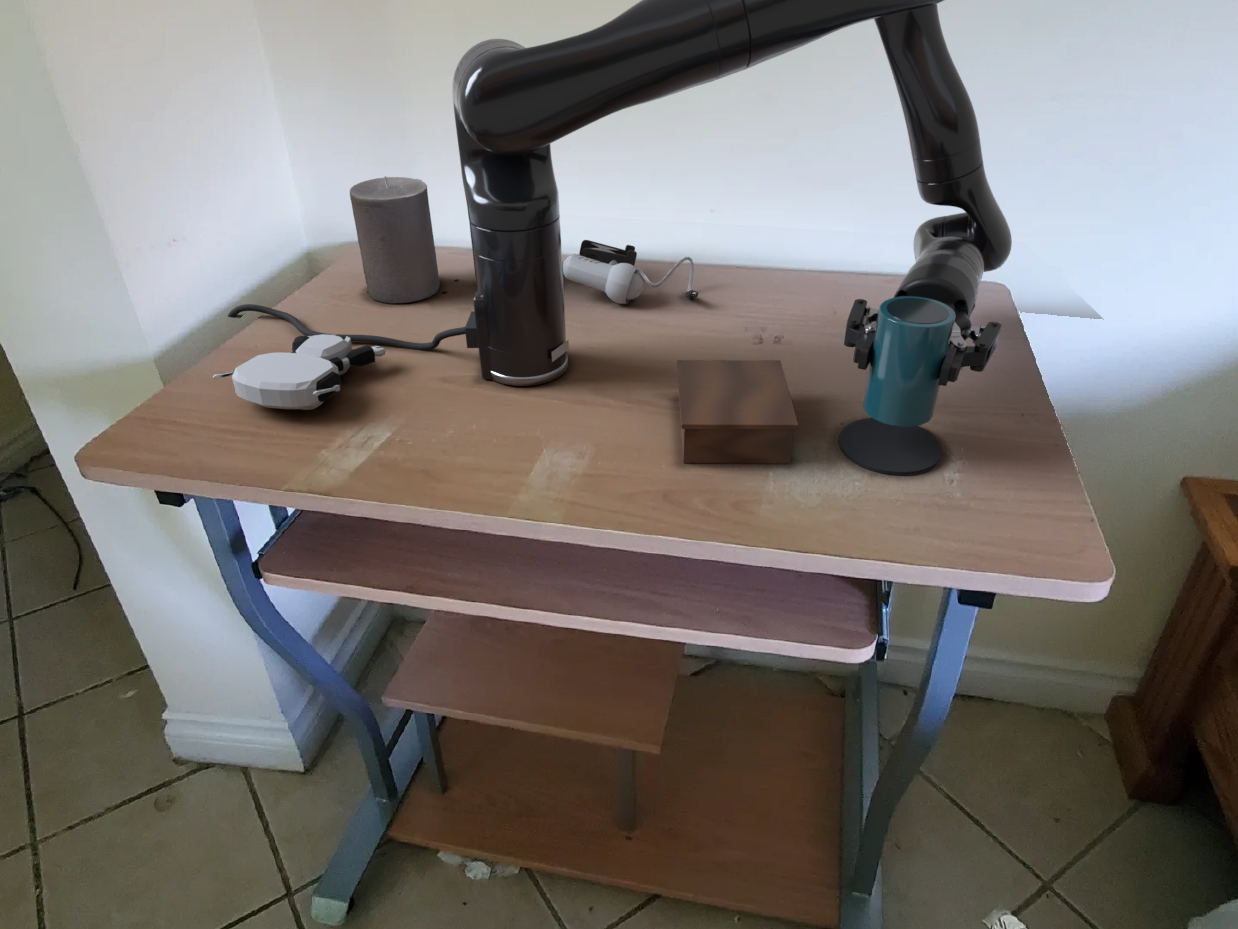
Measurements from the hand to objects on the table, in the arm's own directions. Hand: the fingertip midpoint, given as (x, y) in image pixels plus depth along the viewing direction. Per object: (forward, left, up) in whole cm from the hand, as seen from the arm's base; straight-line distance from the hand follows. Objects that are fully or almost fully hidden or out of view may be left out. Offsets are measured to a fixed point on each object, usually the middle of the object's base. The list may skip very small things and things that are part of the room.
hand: (903, 368), depth 76 cm
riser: (-14, +5, -10) cm, 18 cm away
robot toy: (-59, +13, -10) cm, 61 cm away
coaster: (+1, +2, -10) cm, 10 cm away
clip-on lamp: (-24, +39, -10) cm, 47 cm away
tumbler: (+1, +2, -5) cm, 6 cm away
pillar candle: (-55, +40, -10) cm, 69 cm away
